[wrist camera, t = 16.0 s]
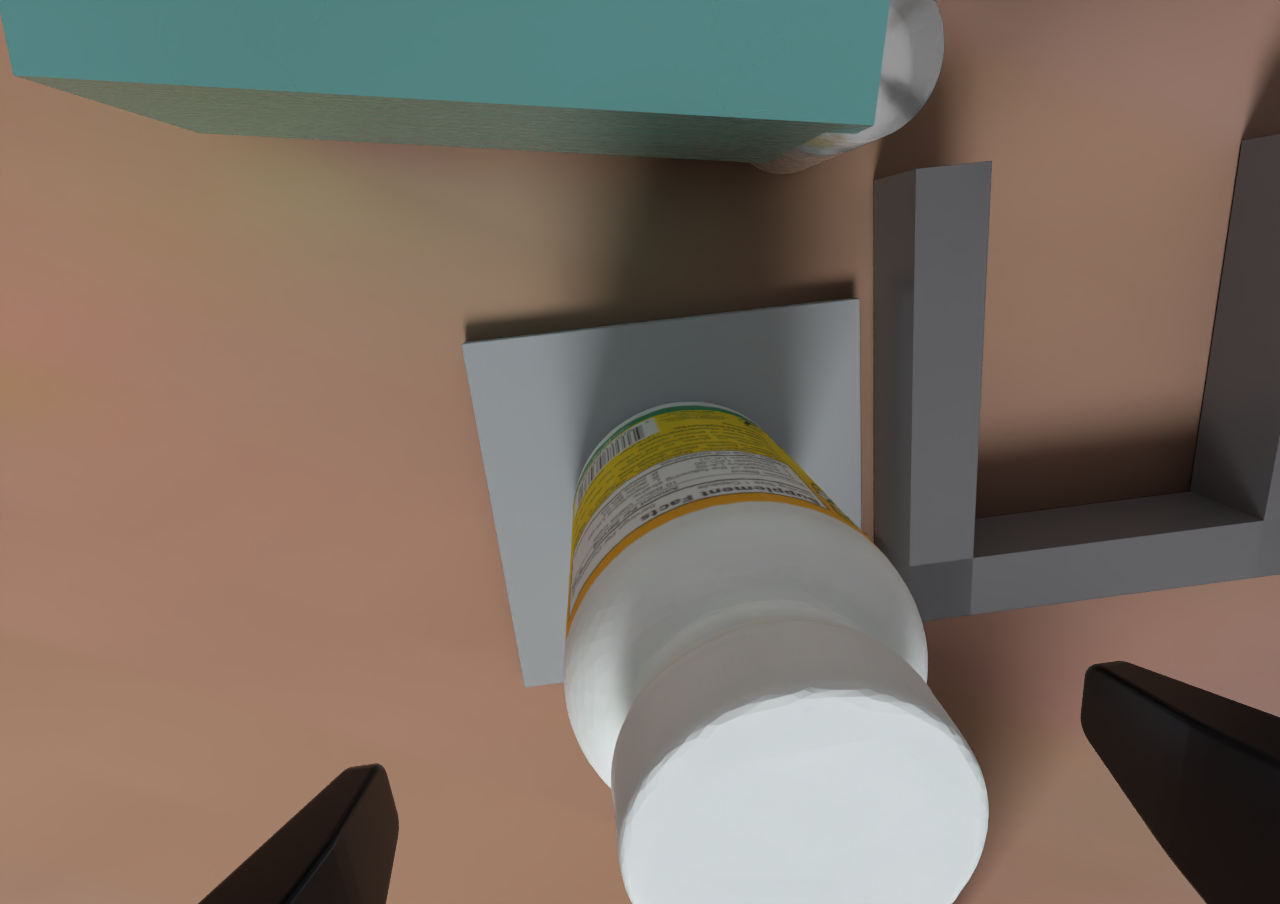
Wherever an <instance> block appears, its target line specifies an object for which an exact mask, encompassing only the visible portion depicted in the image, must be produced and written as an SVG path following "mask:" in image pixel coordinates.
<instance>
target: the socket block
mask: <svg viewBox="0 0 1280 904" xmlns="http://www.w3.org/2000/svg"><path fill="white" fill-rule="evenodd" d="M991 172H992V161H985V162H975V163H966V164H957V165H948V166H938V167H929V168H920V169H914V170H910V171H906V172H903V173H899V174H895V175H892V176H888V177H884V178H880V179H877V180H874V544H875V545H876V546H877V547H878V548H879V549H880V550H881V552H882V553H883V554H884V555H885V556H886V557H887V558H888V560H889V561H890V562H891V564H892V565H893V566H894V568H895V569H896V570H897V572H898V573H899V574H900V576H901V578H902V579H903V581H904V582H905V584H906V586H907V587H908V589H909V591H910V593H911V595H912V597H913V599H914V601H915V603H916V606H917V609H918V612H919V615H920V617H921V620H922V621H930V620H937V619H945V618H952V617H960V616H967V615H975V614H983V613H990V612H998V611H1005V610H1013V609H1021V608H1028V607H1036V606H1043V605H1051V604H1058V603H1066V602H1074V601H1081V600H1089V599H1096V598H1104V597H1112V596H1119V595H1127V594H1134V593H1142V592H1149V591H1157V590H1165V589H1172V588H1180V587H1187V586H1195V585H1203V584H1210V583H1218V582H1225V581H1233V580H1240V579H1248V578H1256V577H1263V576H1271V575H1278V574H1280V134H1276V135H1270V136H1265V137H1259V138H1253V139H1248V140H1242V146H1241V153H1240V159H1239V166H1238V173H1237V179H1236V186H1235V193H1234V199H1233V206H1232V213H1231V219H1230V226H1229V233H1228V240H1227V246H1226V253H1225V260H1224V266H1223V273H1222V280H1221V286H1220V293H1219V300H1218V306H1217V313H1216V320H1215V326H1214V333H1213V340H1212V347H1211V353H1210V360H1209V367H1208V373H1207V380H1206V387H1205V393H1204V400H1203V407H1202V413H1201V420H1200V427H1199V433H1198V440H1197V447H1196V453H1195V460H1194V467H1193V474H1192V480H1191V487H1190V491H1189V492H1181V493H1173V494H1165V495H1157V496H1149V497H1142V498H1134V499H1126V500H1118V501H1110V502H1102V503H1094V504H1086V505H1078V506H1071V507H1063V508H1055V509H1047V510H1039V511H1031V512H1023V513H1015V514H1007V515H1000V516H992V517H984V518H976V519H975V507H976V486H977V465H978V444H979V423H980V402H981V381H982V361H983V340H984V319H985V298H986V277H987V256H988V235H989V214H990V193H991Z"/></svg>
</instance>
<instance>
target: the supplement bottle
mask: <svg viewBox="0 0 1280 904" xmlns="http://www.w3.org/2000/svg"><path fill="white" fill-rule="evenodd" d="M572 511H573V523H572V539H571V557H570V575H569V590H568V606H567V619H566V634H565V651H564V669H563V675H564V691H565V700H566V706H567V710H568V715H569V719H570V722H571V725H572V728H573V731H574V734H575V736H576V738H577V740H578V743H579V745H580V747H581V749H582V751H583V752H584V754H585V756H586V758H587V759H588V761H589V763H590V764H591V765H592V767H593V768H594V769H595V771H596V772H597V773H598V775H599V776H600V777H601V778H602V780H603V781H604V782H605V783H606V784H607V785H608V786H609V787H610V788H611V790H612V797H613V802H614V806H615V817H616V831H617V844H618V857H619V863H620V869H621V874H622V878H623V881H624V885H625V888H626V891H627V894H628V896H629V898H630V900H631V902H632V904H952V903H953V902H954V901H955V899H956V898H957V896H958V895H959V893H960V892H961V890H962V889H963V888H964V886H965V885H966V883H967V882H968V881H969V879H970V877H971V875H972V874H973V872H974V870H975V868H976V866H977V864H978V862H979V859H980V856H981V854H982V850H983V847H984V844H985V839H986V834H987V830H988V817H989V807H988V796H987V790H986V786H985V782H984V778H983V774H982V771H981V768H980V766H979V764H978V762H977V759H976V757H975V755H974V754H973V752H972V750H971V748H970V747H969V745H968V743H967V742H966V740H965V738H964V737H963V735H962V734H961V732H960V731H959V729H958V728H957V727H956V725H955V724H954V722H953V721H952V719H951V718H950V717H949V715H948V714H947V712H946V711H945V710H944V708H943V707H942V705H941V704H940V703H939V701H938V700H937V699H936V698H935V696H934V695H933V693H932V691H931V689H930V688H929V687H928V685H927V673H928V652H927V644H926V636H925V632H924V628H923V624H922V620H921V617H920V615H919V612H918V609H917V606H916V603H915V601H914V599H913V597H912V595H911V593H910V591H909V589H908V587H907V586H906V584H905V582H904V581H903V579H902V578H901V576H900V574H899V573H898V572H897V570H896V569H895V568H894V566H893V565H892V564H891V562H890V561H889V560H888V558H887V557H886V556H885V555H884V554H883V553H882V552H881V550H880V549H879V548H878V547H877V546H876V545H875V544H874V543H873V542H872V541H871V540H870V539H869V537H868V536H867V534H866V533H865V532H864V531H862V530H861V529H860V528H859V527H858V526H857V525H856V524H855V523H853V522H852V521H851V520H850V518H849V517H848V516H847V515H846V514H845V513H844V512H843V511H842V510H841V509H840V508H839V507H838V506H837V505H836V504H835V503H834V502H833V501H832V500H831V499H830V498H829V497H828V496H827V495H826V494H825V492H824V491H823V490H822V489H821V488H820V487H819V486H818V485H817V484H816V483H815V482H814V481H813V480H812V479H811V478H810V477H809V476H808V475H807V474H806V472H805V471H804V470H803V469H802V468H801V467H800V466H799V465H798V464H797V463H796V462H795V461H794V460H793V459H792V458H791V457H790V456H789V455H788V454H787V452H785V451H784V450H783V449H782V448H781V447H780V446H779V445H778V444H777V443H776V442H775V441H774V440H773V439H772V438H771V437H770V436H769V435H768V434H767V433H766V432H765V431H764V430H763V429H761V428H760V427H759V426H758V425H757V424H756V423H754V422H753V421H752V420H750V419H749V418H747V417H746V416H744V415H742V414H741V413H739V412H736V411H734V410H732V409H729V408H726V407H723V406H720V405H716V404H711V403H704V402H675V403H668V404H663V405H660V406H656V407H653V408H650V409H647V410H645V411H643V412H641V413H638V414H636V415H634V416H632V417H631V418H629V419H627V420H626V421H624V422H623V423H621V424H620V425H618V426H617V427H616V428H614V429H613V430H612V431H611V432H610V433H609V434H608V435H607V436H606V437H605V438H604V439H603V440H602V441H601V442H600V443H599V444H598V445H597V447H596V448H595V449H594V451H593V452H592V454H591V455H590V457H589V458H588V460H587V462H586V464H585V466H584V468H583V470H582V472H581V475H580V477H579V480H578V483H577V487H576V491H575V496H574V504H573V509H572Z"/></svg>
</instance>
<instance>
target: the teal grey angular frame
mask: <svg viewBox="0 0 1280 904" xmlns="http://www.w3.org/2000/svg"><path fill="white" fill-rule="evenodd" d="M0 13H1V18H2V22H3V27H4V32H5V37H6V42H7V47H8V52H9V56H10V61H11V66H12V71H13V75H14V76H17V77H20V78H23V79H27V80H30V81H33V82H36V83H40V84H43V85H46V86H49V87H52V88H56V89H59V90H62V91H65V92H69V93H72V94H75V95H78V96H81V97H85V98H88V99H91V100H94V101H98V102H101V103H104V104H107V105H110V106H114V107H117V108H120V109H123V110H127V111H130V112H133V113H136V114H139V115H143V116H146V117H149V118H152V119H155V120H159V121H162V122H165V123H168V124H172V125H175V126H178V127H181V128H184V129H188V130H191V131H194V132H197V133H206V134H225V135H244V136H263V137H281V138H300V139H319V140H338V141H357V142H376V143H394V144H413V145H432V146H451V147H470V148H489V149H508V150H526V151H545V152H564V153H583V154H602V155H621V156H639V157H658V158H677V159H696V160H715V161H734V162H749V163H751V164H752V165H753V166H755V167H756V168H758V169H760V170H762V171H765V172H768V173H772V174H791V173H795V172H798V171H801V170H804V169H806V168H809V167H811V166H813V165H816V164H818V163H821V162H823V161H826V160H828V159H831V158H833V157H835V156H838V155H840V154H843V153H845V152H848V151H850V150H853V149H855V148H857V147H860V146H862V145H865V144H867V143H870V142H872V141H875V140H877V139H879V138H882V137H884V136H886V135H889V134H891V133H893V132H895V131H896V130H898V129H899V128H901V127H903V126H904V125H905V124H906V123H908V122H909V121H910V120H911V119H912V118H913V117H914V116H915V115H916V114H917V113H918V112H919V111H920V110H921V108H922V107H923V106H924V104H925V103H926V101H927V100H928V98H929V96H930V95H931V93H932V91H933V89H934V87H935V84H936V82H937V80H938V76H939V73H940V70H941V66H942V61H943V54H944V31H943V23H942V19H941V15H940V11H939V9H938V6H937V4H936V1H935V0H0Z"/></svg>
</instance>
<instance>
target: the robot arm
mask: <svg viewBox="0 0 1280 904" xmlns="http://www.w3.org/2000/svg"><path fill="white" fill-rule="evenodd" d="M1081 724H1082V728H1083V731H1084V733H1085V735H1086V737H1087V739H1088V741H1089V742H1090V744H1091V745H1092V746H1093V748H1094V749H1095V751H1096V752H1097V754H1098V755H1099V757H1100V758H1101V760H1102V761H1103V763H1104V764H1105V765H1106V767H1107V768H1108V770H1109V771H1110V773H1111V774H1112V776H1113V777H1114V779H1115V780H1116V781H1117V783H1118V784H1119V786H1120V787H1121V789H1122V790H1123V792H1124V793H1125V795H1126V796H1127V798H1128V799H1129V800H1130V802H1131V803H1132V805H1133V806H1134V808H1135V809H1136V811H1137V812H1138V814H1139V815H1140V816H1141V818H1142V819H1143V821H1144V822H1145V824H1146V825H1147V827H1148V828H1149V830H1150V831H1151V832H1152V834H1153V835H1154V837H1155V838H1156V840H1157V841H1158V842H1159V844H1160V845H1161V846H1162V848H1163V849H1164V851H1165V852H1166V853H1167V855H1168V856H1169V857H1170V859H1171V860H1172V861H1173V862H1174V864H1175V865H1176V866H1177V868H1178V869H1179V870H1180V871H1181V873H1182V874H1183V875H1184V876H1185V878H1186V879H1187V880H1188V881H1189V883H1190V884H1191V885H1192V886H1193V888H1194V889H1195V890H1196V891H1197V892H1198V894H1199V895H1200V896H1201V897H1202V899H1203V900H1204V901H1205V902H1206V904H1280V717H1277V716H1274V715H1272V714H1269V713H1266V712H1263V711H1261V710H1258V709H1255V708H1252V707H1250V706H1247V705H1244V704H1241V703H1239V702H1236V701H1233V700H1230V699H1227V698H1225V697H1222V696H1219V695H1216V694H1214V693H1211V692H1208V691H1205V690H1203V689H1200V688H1197V687H1194V686H1192V685H1189V684H1186V683H1183V682H1181V681H1178V680H1175V679H1172V678H1170V677H1167V676H1164V675H1161V674H1159V673H1156V672H1153V671H1150V670H1148V669H1145V668H1142V667H1139V666H1136V665H1134V664H1131V663H1128V662H1124V661H1115V662H1107V663H1100V664H1094V665H1092V666H1090V667H1089V668H1088V670H1087V671H1086V674H1085V680H1084V689H1083V698H1082V707H1081ZM398 831H399V820H398V814H397V810H396V806H395V802H394V799H393V795H392V791H391V787H390V784H389V780H388V776H387V773H386V771H385V769H384V767H383V766H382V765H380V764H369V765H362V766H354V767H350V768H348V769H346V770H345V771H343V772H342V773H341V774H340V775H339V776H337V777H336V778H335V779H334V780H333V781H332V782H331V783H330V784H329V785H328V786H327V787H325V788H324V789H323V790H322V791H321V792H320V793H319V794H318V795H317V796H316V797H314V798H313V799H312V800H311V801H310V802H309V803H308V804H307V805H306V806H305V807H304V808H302V809H301V810H300V811H299V812H298V813H297V814H296V815H295V816H294V817H293V818H291V819H290V820H289V821H288V822H287V823H286V824H285V825H284V826H283V827H282V828H281V829H279V830H278V831H277V832H276V833H275V834H274V835H273V836H272V837H271V838H270V839H268V840H267V841H266V842H265V843H264V844H263V845H262V846H261V847H260V848H259V849H257V850H256V851H255V852H254V853H253V854H252V855H251V856H250V857H249V858H248V859H247V860H245V861H244V862H243V863H242V864H241V865H240V866H239V867H238V868H237V869H236V870H234V871H233V872H232V873H231V874H230V875H229V876H228V877H227V878H226V879H225V880H224V881H222V882H221V883H220V884H219V885H218V886H217V887H216V888H215V889H214V890H213V891H211V892H210V893H209V894H208V895H207V896H206V897H205V898H204V899H203V900H202V901H201V902H199V903H198V904H386V900H387V894H388V889H389V883H390V878H391V872H392V867H393V861H394V856H395V850H396V845H397V839H398Z"/></svg>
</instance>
